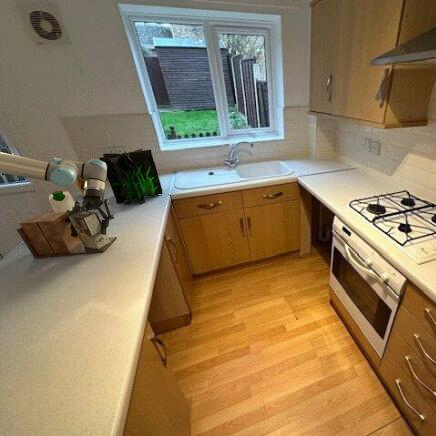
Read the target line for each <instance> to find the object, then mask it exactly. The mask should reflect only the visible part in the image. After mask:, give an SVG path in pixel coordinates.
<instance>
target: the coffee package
mask: <svg viewBox="0 0 436 436" xmlns="http://www.w3.org/2000/svg"><path fill="white" fill-rule="evenodd" d="M85 180H86V179H82V178H76V180H75V182H76V185H77V187H78V190H79V191H80V193H81V195H82V196H83V193H84V190H85V189H84V186H85Z"/></svg>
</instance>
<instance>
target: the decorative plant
mask: <svg viewBox="0 0 436 436" xmlns="http://www.w3.org/2000/svg"><path fill="white" fill-rule="evenodd" d="M98 160H100V161H103V162H104V163H105V164H106V165H107V174H106V179H107V180H108V183H109V186H110V188H111V191H112V193H113V196H114V199H115V202H116V203H117V204H118V205H119V204H123V203H124V201H125V204H124V206H127V205H128V206H130V205H131V204H133V202H134V201H136V200H139V202H140V205H142V204H144V203H146V202H145V201H146V199H145V198H146V197H144V196H149V197H156V196H155V195H157V196H159V195H158V194H163V193H164V192H163V187H162V184H161V180H160V176H159V173H158V169H157V166H156V162H155V161H154V157H153V153H152V149H145V150H144V149H143V148H139V149H136V150H134V151H129V152H127V151H126V150H125V151H124V152H122V153H102V157H101V156H99V157H98ZM163 195H164V194H163ZM135 199H136V200H135ZM133 200H134V201H133ZM143 202H144V203H143Z"/></svg>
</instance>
